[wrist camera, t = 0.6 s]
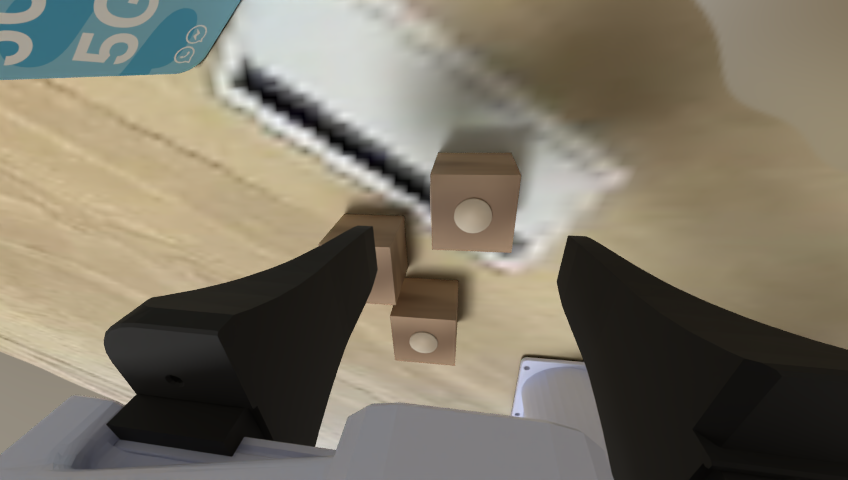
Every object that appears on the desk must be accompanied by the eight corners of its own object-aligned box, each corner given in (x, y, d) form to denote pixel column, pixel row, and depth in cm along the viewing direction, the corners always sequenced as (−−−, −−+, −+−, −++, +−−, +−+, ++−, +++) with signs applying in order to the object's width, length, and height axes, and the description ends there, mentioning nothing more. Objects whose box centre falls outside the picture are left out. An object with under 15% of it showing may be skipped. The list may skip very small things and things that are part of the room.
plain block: (407, 266, 24) (395, 305, 20) (353, 264, 25) (331, 300, 21) (404, 215, 22) (389, 247, 18) (344, 213, 23) (318, 244, 19)
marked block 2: (457, 321, 27) (454, 367, 23) (404, 317, 27) (392, 361, 23) (458, 279, 24) (455, 322, 20) (400, 276, 25) (387, 317, 21)
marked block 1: (503, 218, 21) (511, 254, 17) (436, 216, 22) (429, 250, 18) (510, 152, 19) (521, 176, 15) (436, 152, 20) (427, 175, 16)
